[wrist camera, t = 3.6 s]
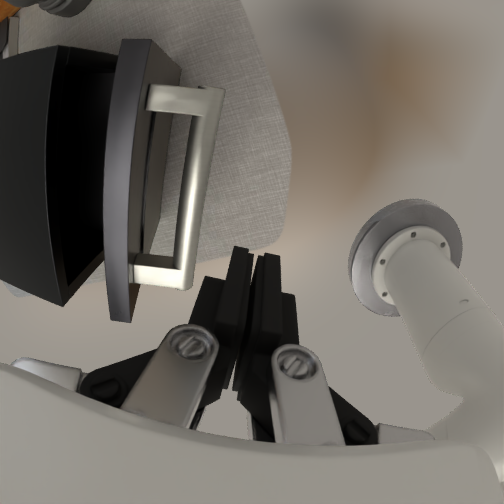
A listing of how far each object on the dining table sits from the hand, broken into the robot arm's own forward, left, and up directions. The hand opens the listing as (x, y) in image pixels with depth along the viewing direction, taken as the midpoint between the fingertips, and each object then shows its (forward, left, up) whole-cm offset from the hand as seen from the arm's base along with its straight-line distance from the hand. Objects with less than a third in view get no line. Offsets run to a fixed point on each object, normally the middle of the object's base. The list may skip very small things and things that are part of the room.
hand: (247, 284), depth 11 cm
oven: (+22, 0, -22) cm, 31 cm away
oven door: (+10, 0, -22) cm, 24 cm away
